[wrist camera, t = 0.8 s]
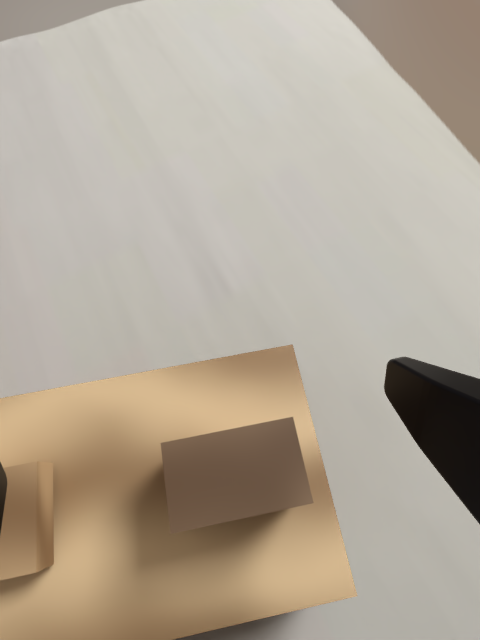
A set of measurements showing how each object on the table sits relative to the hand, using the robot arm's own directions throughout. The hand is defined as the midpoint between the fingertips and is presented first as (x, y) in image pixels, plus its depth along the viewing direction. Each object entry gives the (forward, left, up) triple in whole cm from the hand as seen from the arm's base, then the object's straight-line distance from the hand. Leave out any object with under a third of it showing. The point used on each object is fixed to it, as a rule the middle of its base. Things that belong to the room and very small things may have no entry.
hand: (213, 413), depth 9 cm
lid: (-1, +4, -11) cm, 12 cm away
